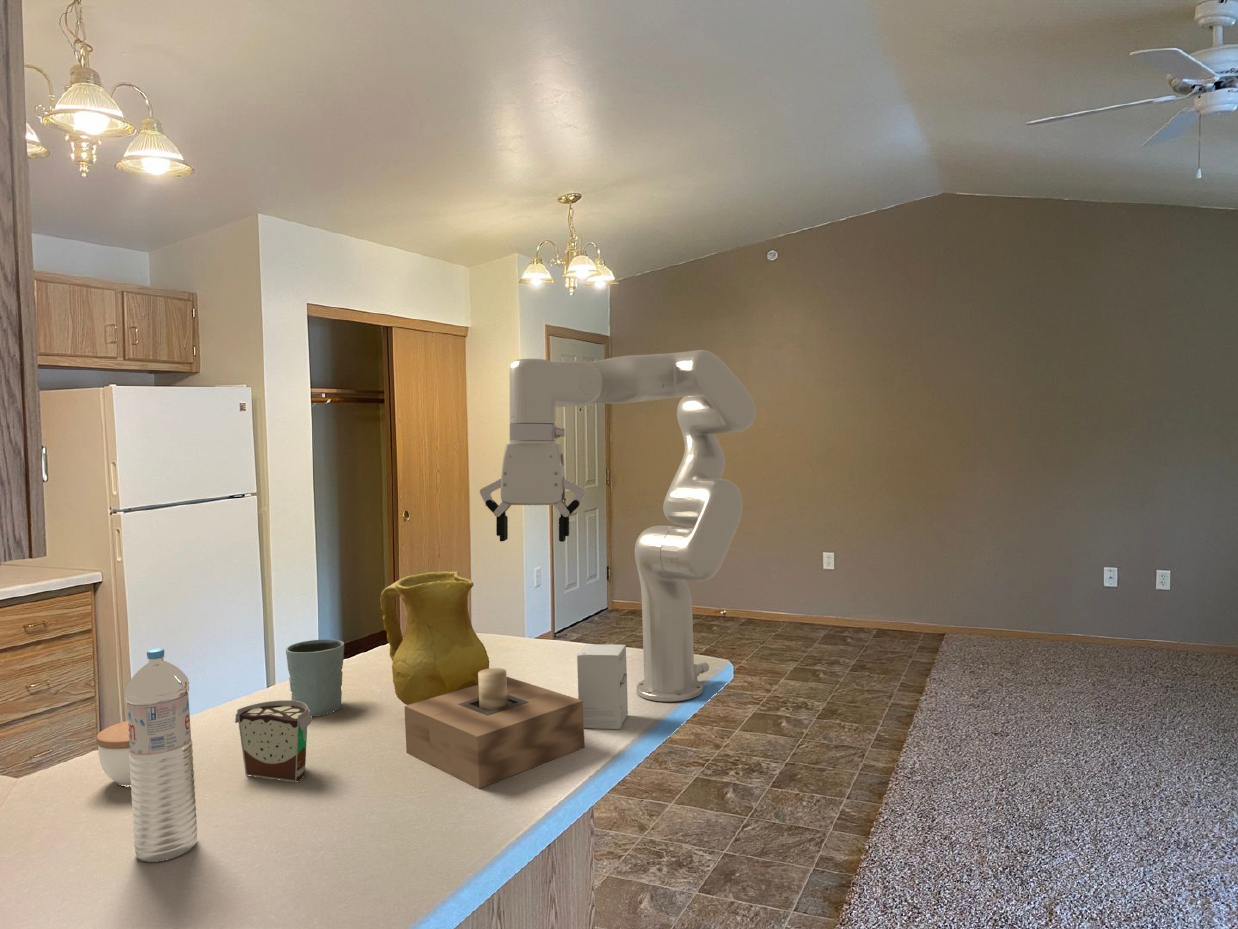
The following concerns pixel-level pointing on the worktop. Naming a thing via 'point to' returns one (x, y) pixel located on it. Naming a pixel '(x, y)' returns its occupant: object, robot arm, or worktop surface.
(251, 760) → the food container
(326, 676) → the grey-green cup
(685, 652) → the robot arm
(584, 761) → the worktop surface
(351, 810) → the worktop surface
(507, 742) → the peg block
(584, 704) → the supplement box
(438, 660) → the pitcher
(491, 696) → the peg
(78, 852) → the worktop surface
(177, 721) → the water bottle
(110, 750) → the lidded jar
